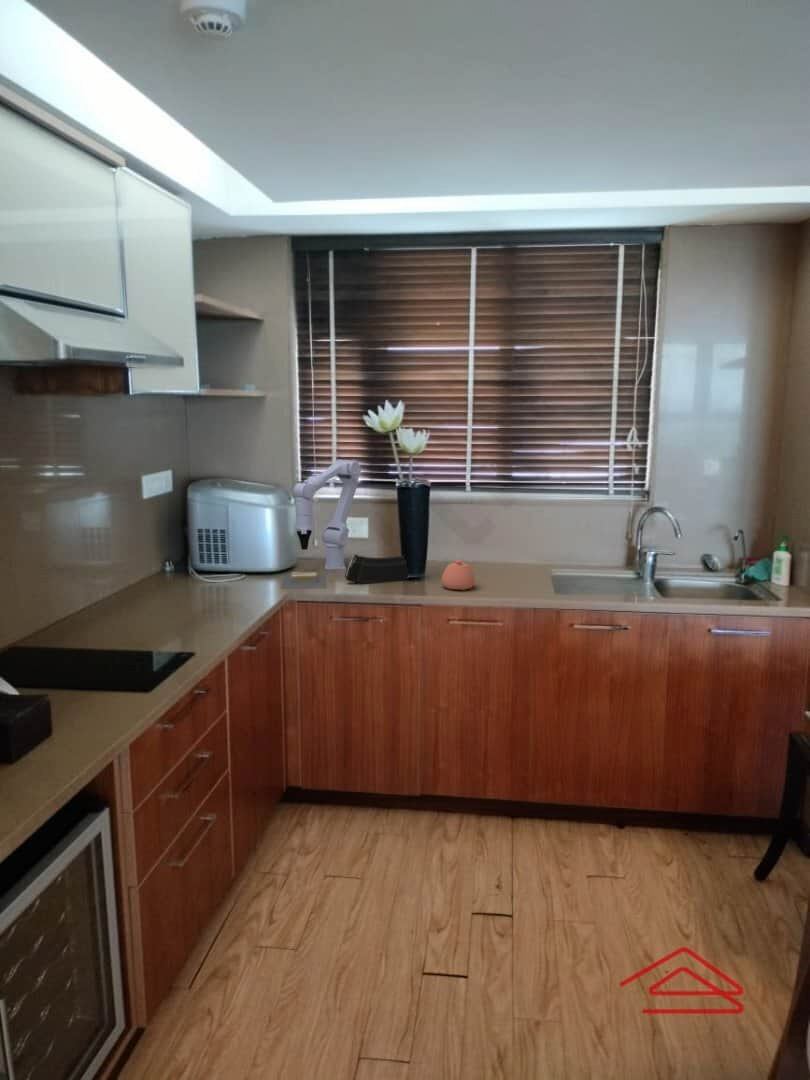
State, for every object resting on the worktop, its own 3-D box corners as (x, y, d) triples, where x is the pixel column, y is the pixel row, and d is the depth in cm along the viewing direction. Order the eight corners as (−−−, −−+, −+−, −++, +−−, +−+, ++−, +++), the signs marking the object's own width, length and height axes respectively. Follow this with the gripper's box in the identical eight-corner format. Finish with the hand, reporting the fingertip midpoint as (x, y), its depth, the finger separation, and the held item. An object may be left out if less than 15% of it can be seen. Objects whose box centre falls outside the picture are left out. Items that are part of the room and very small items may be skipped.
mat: (283, 575, 286) (283, 575, 286) (325, 575, 288) (325, 574, 288) (281, 589, 265) (281, 588, 265) (326, 588, 267) (326, 588, 267)
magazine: (424, 553, 287) (355, 536, 273) (428, 555, 284) (358, 537, 270) (412, 596, 288) (342, 581, 274) (415, 598, 285) (345, 582, 271)
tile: (292, 572, 280) (291, 576, 273) (316, 571, 281) (316, 575, 274) (292, 578, 281) (291, 582, 274) (316, 578, 282) (316, 582, 275)
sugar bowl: (437, 590, 267) (437, 562, 265) (447, 582, 280) (448, 555, 278) (470, 593, 263) (471, 565, 261) (479, 584, 276) (480, 557, 274)
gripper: (294, 511, 292) (294, 546, 294) (292, 517, 278) (293, 553, 280) (312, 511, 293) (312, 545, 295) (311, 517, 279) (312, 552, 281)
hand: (304, 549), depth 288 cm, fingers closed
